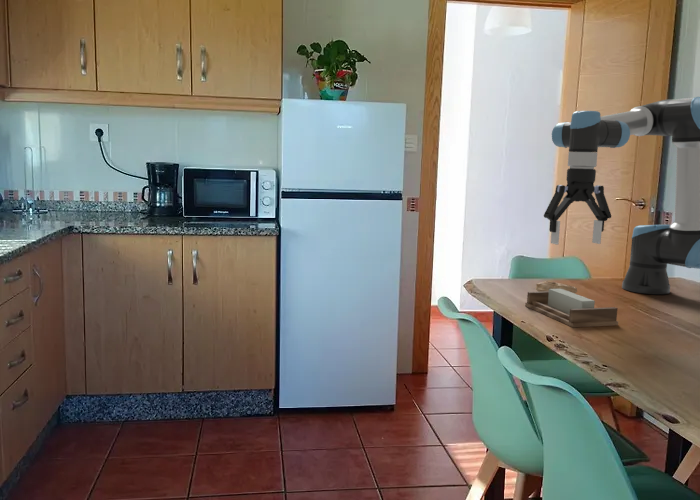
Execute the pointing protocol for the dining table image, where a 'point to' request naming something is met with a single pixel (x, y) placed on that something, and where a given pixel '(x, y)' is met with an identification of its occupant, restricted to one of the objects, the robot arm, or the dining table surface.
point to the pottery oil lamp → (554, 287)
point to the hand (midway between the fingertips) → (575, 243)
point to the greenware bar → (568, 300)
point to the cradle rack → (572, 312)
